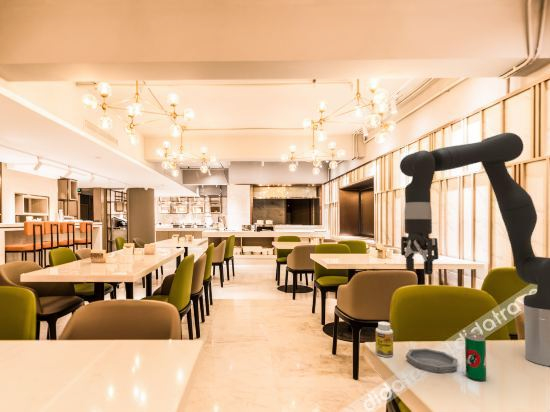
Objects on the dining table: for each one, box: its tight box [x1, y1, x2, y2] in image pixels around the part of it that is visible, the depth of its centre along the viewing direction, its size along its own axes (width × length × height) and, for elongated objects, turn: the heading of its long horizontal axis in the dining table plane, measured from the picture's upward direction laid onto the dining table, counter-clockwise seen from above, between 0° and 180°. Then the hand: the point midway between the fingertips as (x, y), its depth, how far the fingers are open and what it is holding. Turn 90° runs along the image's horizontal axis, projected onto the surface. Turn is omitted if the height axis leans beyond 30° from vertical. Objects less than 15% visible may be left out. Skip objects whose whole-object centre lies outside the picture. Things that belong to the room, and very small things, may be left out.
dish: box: [405, 348, 459, 374], centre depth 103 cm, size 14×14×2 cm
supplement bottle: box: [375, 321, 394, 358], centre depth 110 cm, size 6×6×10 cm
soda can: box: [464, 331, 487, 382], centre depth 94 cm, size 5×5×12 cm
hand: (418, 272), depth 98 cm, fingers open, 8 cm apart
